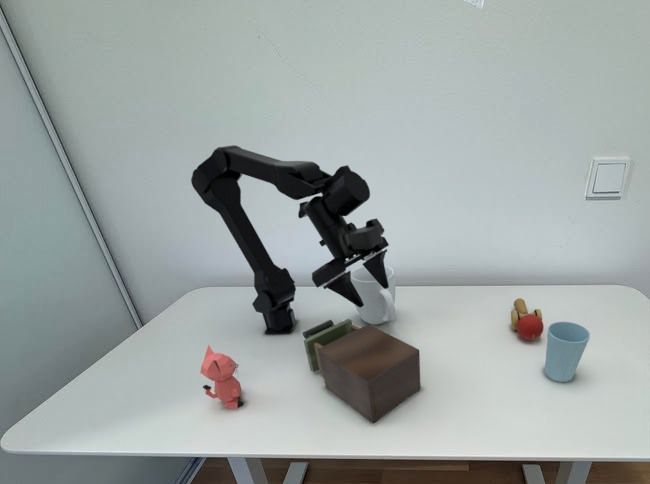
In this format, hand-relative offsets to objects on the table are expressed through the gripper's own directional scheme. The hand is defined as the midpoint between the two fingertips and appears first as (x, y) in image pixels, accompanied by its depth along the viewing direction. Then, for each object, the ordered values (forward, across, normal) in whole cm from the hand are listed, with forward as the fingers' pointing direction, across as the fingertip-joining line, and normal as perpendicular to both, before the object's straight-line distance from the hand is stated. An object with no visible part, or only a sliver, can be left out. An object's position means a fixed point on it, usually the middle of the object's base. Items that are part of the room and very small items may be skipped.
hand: (375, 297), depth 75 cm
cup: (+33, +11, -22) cm, 41 cm away
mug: (+8, +14, +16) cm, 23 cm away
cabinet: (+15, -10, +5) cm, 19 cm away
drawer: (+10, -8, +11) cm, 17 cm away
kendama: (+26, +28, -13) cm, 40 cm away
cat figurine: (+3, -26, +24) cm, 35 cm away
